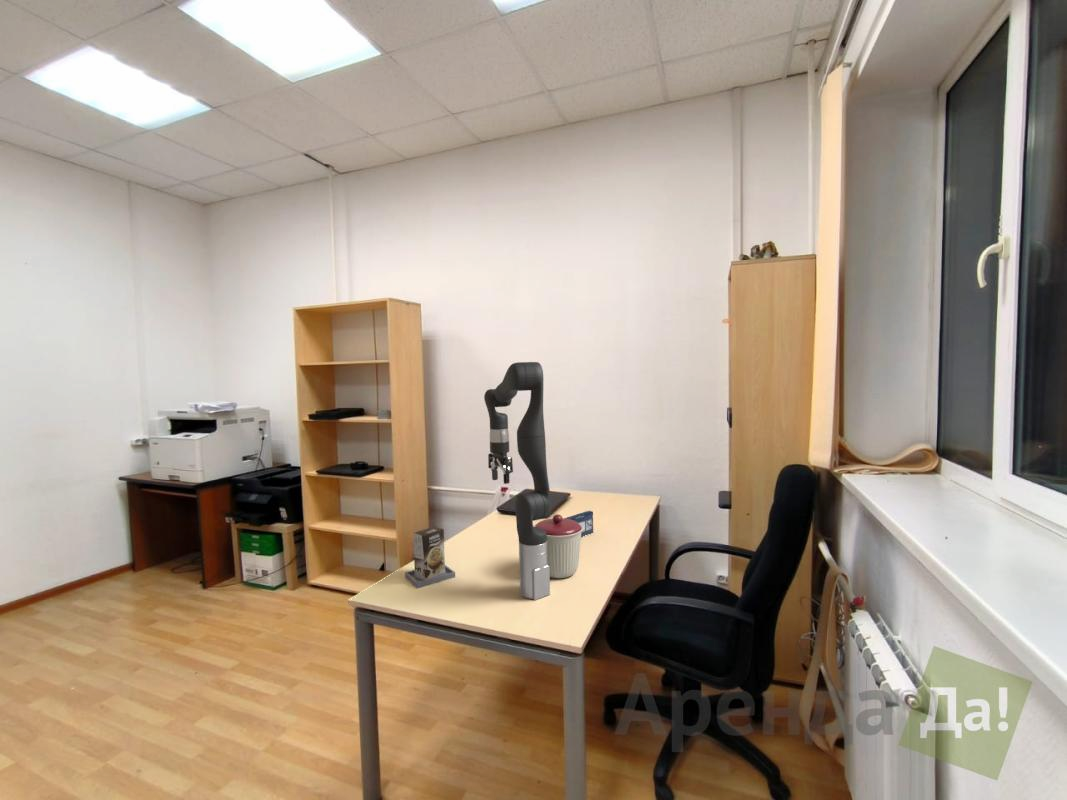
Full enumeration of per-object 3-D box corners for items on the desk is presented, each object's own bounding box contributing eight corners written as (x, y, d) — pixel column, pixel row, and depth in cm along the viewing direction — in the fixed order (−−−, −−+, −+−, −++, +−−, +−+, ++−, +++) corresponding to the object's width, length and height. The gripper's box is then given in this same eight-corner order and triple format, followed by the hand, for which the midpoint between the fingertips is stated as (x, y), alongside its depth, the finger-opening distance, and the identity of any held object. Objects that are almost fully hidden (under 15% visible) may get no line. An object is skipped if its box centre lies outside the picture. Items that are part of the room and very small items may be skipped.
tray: (455, 577, 166) (455, 572, 166) (417, 588, 157) (416, 583, 157) (441, 567, 175) (441, 562, 175) (405, 577, 166) (404, 572, 166)
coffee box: (425, 581, 161) (423, 535, 160) (414, 577, 165) (412, 532, 164) (446, 572, 168) (444, 528, 167) (434, 568, 172) (432, 525, 171)
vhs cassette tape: (564, 543, 196) (563, 520, 195) (559, 542, 198) (559, 519, 198) (594, 533, 207) (593, 511, 207) (589, 532, 210) (589, 510, 209)
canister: (526, 567, 172) (525, 511, 171) (570, 559, 179) (569, 505, 178) (544, 587, 156) (543, 525, 154) (593, 578, 162) (591, 518, 161)
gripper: (481, 439, 184) (483, 480, 185) (500, 443, 172) (502, 486, 173) (498, 437, 188) (499, 477, 189) (517, 441, 177) (518, 483, 178)
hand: (500, 481), depth 181 cm, fingers open, 8 cm apart
